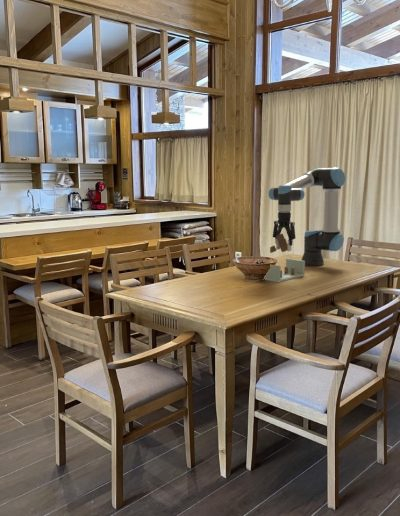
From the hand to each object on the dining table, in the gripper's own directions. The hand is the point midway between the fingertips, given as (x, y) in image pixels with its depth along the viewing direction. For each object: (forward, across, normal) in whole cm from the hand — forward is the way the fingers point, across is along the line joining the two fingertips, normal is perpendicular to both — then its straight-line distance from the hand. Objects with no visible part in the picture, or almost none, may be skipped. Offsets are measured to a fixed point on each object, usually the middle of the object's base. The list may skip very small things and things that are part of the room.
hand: (283, 250), depth 292 cm
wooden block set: (+1, -2, 0) cm, 2 cm away
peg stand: (+17, 0, 0) cm, 17 cm away
